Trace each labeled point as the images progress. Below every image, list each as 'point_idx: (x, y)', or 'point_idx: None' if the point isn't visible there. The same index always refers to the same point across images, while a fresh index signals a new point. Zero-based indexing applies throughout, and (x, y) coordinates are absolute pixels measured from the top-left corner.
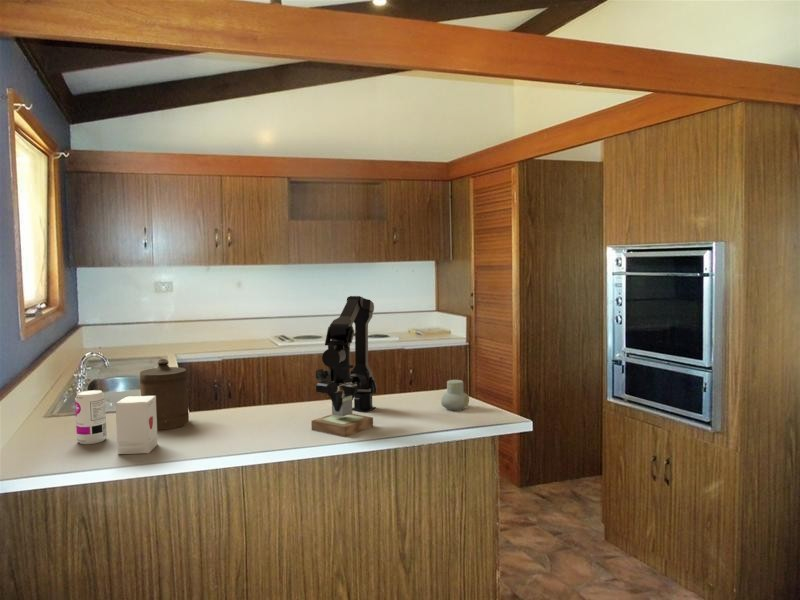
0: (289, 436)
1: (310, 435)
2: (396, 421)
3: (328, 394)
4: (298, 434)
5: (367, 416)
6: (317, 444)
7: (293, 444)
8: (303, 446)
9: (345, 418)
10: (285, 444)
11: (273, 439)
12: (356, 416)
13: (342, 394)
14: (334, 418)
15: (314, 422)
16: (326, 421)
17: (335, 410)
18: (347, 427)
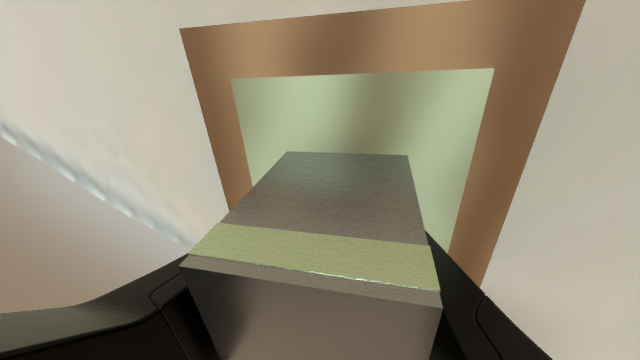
0: (83, 30)
1: (172, 110)
2: (613, 312)
3: (48, 318)
4: (131, 41)
5: (483, 275)
6: (149, 210)
7: (78, 142)
8: (103, 186)
9: None
10: (51, 116)
11: (6, 2)
12: (438, 234)
13: (363, 350)
14: (314, 145)
15: (195, 63)
16: (243, 139)
17: None
18: None
